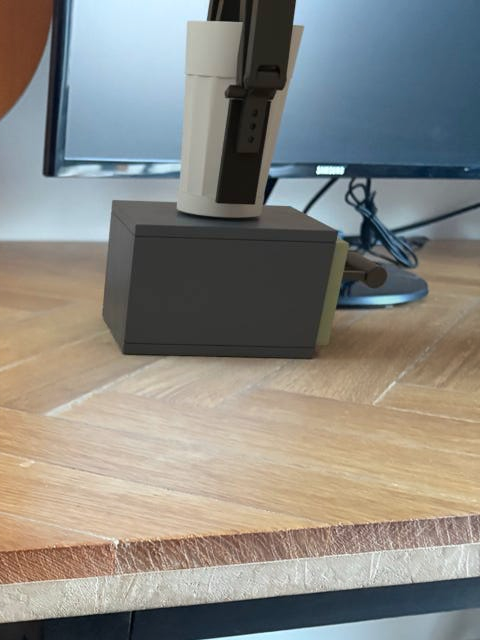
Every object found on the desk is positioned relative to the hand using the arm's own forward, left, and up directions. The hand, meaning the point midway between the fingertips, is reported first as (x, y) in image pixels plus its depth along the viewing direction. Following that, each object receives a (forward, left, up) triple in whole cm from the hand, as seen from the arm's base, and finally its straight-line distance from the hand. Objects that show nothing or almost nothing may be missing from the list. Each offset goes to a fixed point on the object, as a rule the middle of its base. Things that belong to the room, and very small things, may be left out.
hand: (221, 194), depth 74 cm
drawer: (-4, 0, -10) cm, 10 cm away
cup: (0, 0, -1) cm, 1 cm away
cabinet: (0, 0, -10) cm, 10 cm away
